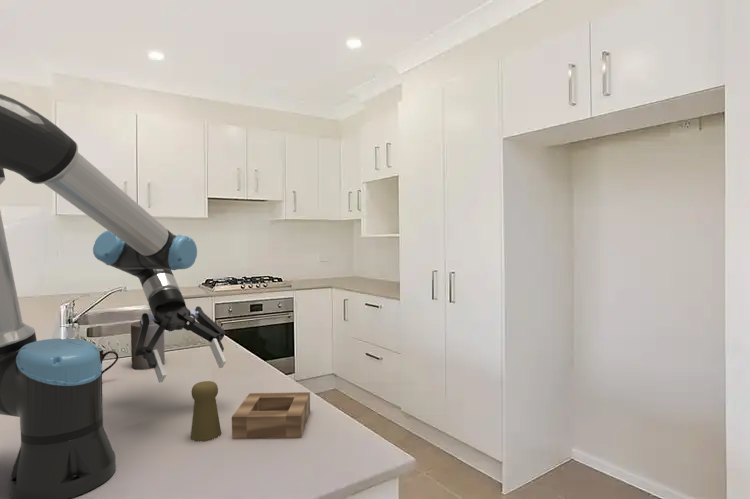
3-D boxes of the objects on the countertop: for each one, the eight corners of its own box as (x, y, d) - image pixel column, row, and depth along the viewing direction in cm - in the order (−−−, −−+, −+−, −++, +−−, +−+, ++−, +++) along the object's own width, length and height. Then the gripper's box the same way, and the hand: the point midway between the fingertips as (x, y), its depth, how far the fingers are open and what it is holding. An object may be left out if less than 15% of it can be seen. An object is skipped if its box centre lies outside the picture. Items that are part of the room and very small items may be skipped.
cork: (211, 426, 101) (209, 376, 101) (227, 433, 98) (225, 381, 97) (184, 436, 97) (183, 383, 96) (200, 444, 93) (198, 389, 93)
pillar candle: (124, 368, 146) (123, 321, 146) (146, 360, 156) (145, 315, 155) (151, 370, 144) (149, 322, 143) (171, 362, 154) (170, 316, 153)
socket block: (301, 437, 95) (300, 415, 95) (232, 438, 95) (231, 416, 95) (310, 411, 109) (309, 392, 109) (250, 412, 109) (249, 393, 109)
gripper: (208, 300, 124) (239, 368, 114) (103, 313, 106) (129, 395, 96) (218, 282, 120) (250, 350, 110) (110, 292, 102) (138, 375, 92)
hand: (194, 371), depth 103 cm, fingers open, 13 cm apart
